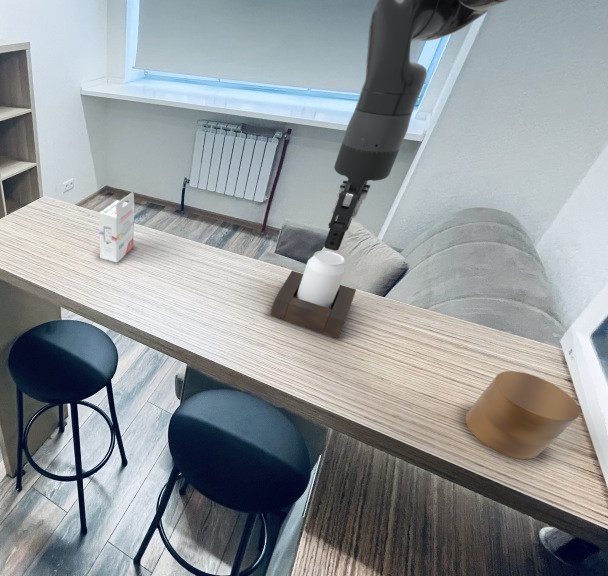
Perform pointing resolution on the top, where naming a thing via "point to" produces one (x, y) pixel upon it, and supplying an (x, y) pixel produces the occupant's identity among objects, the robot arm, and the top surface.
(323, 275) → the beverage can
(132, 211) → the ink cartridge box
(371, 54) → the robot arm
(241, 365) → the top surface
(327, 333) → the can stand
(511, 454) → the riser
